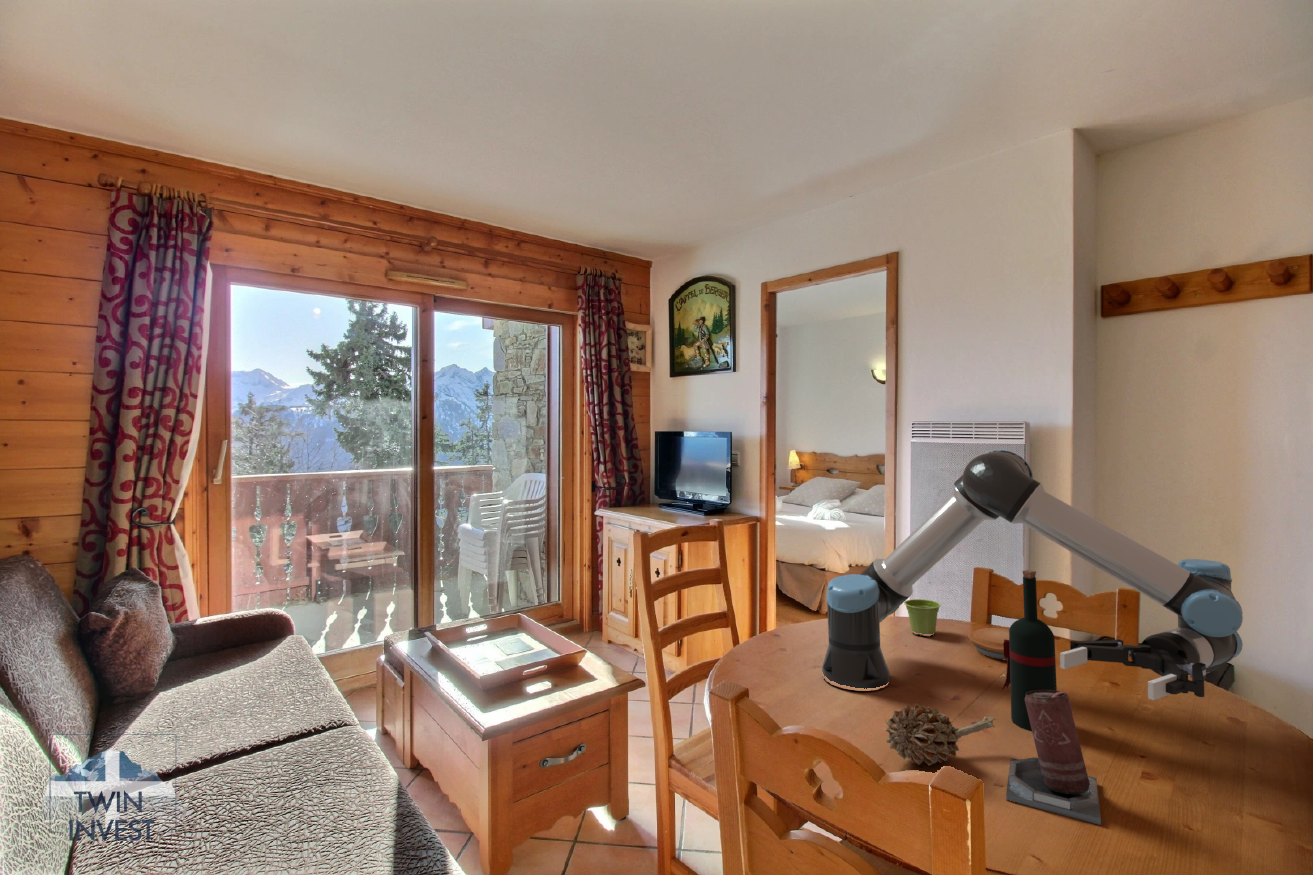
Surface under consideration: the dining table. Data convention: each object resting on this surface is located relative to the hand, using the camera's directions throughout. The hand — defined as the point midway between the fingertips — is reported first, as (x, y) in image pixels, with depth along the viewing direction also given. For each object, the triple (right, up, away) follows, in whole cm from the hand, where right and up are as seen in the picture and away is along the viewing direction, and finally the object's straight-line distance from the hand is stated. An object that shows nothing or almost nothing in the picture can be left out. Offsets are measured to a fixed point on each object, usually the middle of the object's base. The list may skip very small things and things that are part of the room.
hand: (1103, 675), depth 100 cm
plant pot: (+1, -16, +70) cm, 72 cm away
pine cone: (-24, -18, +6) cm, 30 cm away
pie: (+14, -16, +54) cm, 58 cm away
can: (-10, -15, -6) cm, 20 cm away
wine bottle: (-1, -17, +18) cm, 25 cm away
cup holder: (-12, -17, -5) cm, 21 cm away
